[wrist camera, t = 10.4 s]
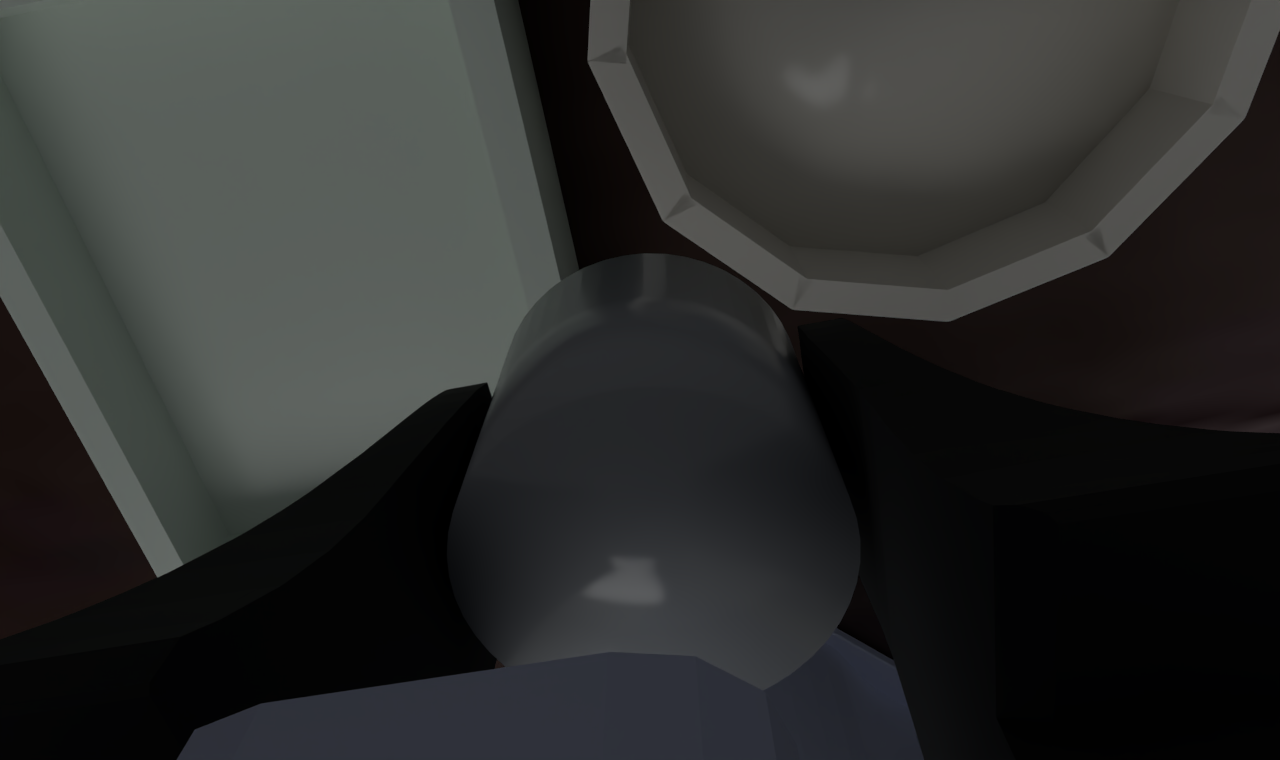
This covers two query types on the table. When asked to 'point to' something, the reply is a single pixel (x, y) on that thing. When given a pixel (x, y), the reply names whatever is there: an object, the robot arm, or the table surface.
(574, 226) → the table surface
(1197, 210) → the table surface
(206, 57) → the parts tray
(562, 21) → the table surface
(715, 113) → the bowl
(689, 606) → the pebble
